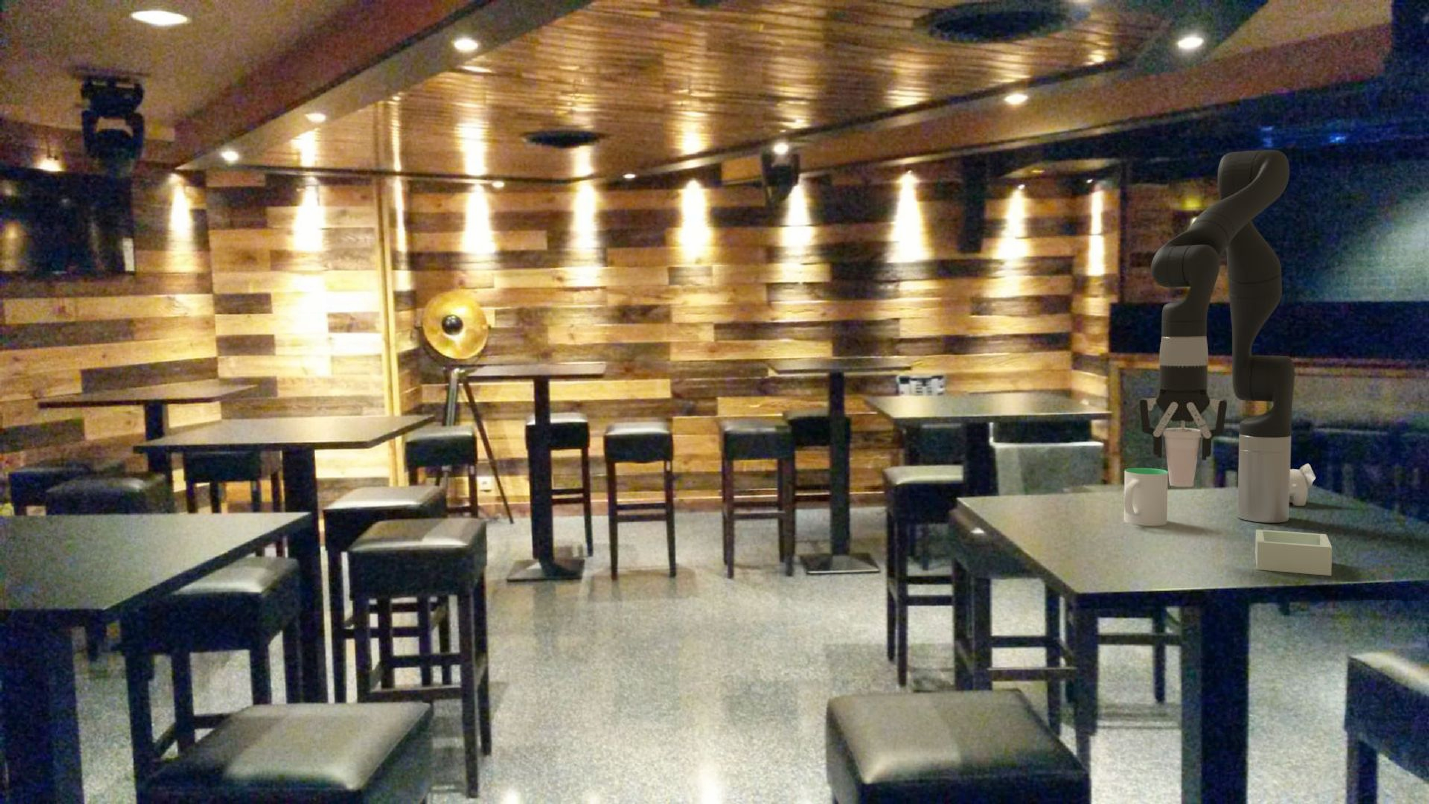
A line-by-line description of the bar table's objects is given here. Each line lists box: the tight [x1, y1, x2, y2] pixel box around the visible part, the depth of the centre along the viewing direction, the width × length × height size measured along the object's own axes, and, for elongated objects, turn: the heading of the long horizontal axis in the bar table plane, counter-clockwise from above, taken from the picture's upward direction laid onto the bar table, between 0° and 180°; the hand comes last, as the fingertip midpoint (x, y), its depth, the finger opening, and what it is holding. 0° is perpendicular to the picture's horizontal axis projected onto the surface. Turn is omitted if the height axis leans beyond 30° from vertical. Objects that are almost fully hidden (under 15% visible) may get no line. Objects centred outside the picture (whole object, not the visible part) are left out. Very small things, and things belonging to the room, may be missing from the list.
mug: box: [1123, 467, 1169, 527], centre depth 204 cm, size 12×8×10 cm, turn 136°
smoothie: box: [1162, 420, 1204, 488], centre depth 175 cm, size 6×6×14 cm
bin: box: [1254, 529, 1333, 577], centre depth 169 cm, size 10×10×5 cm
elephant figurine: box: [1289, 463, 1316, 507], centre depth 222 cm, size 10×12×9 cm
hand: (1181, 458), depth 175 cm, fingers closed on smoothie, 6 cm apart
